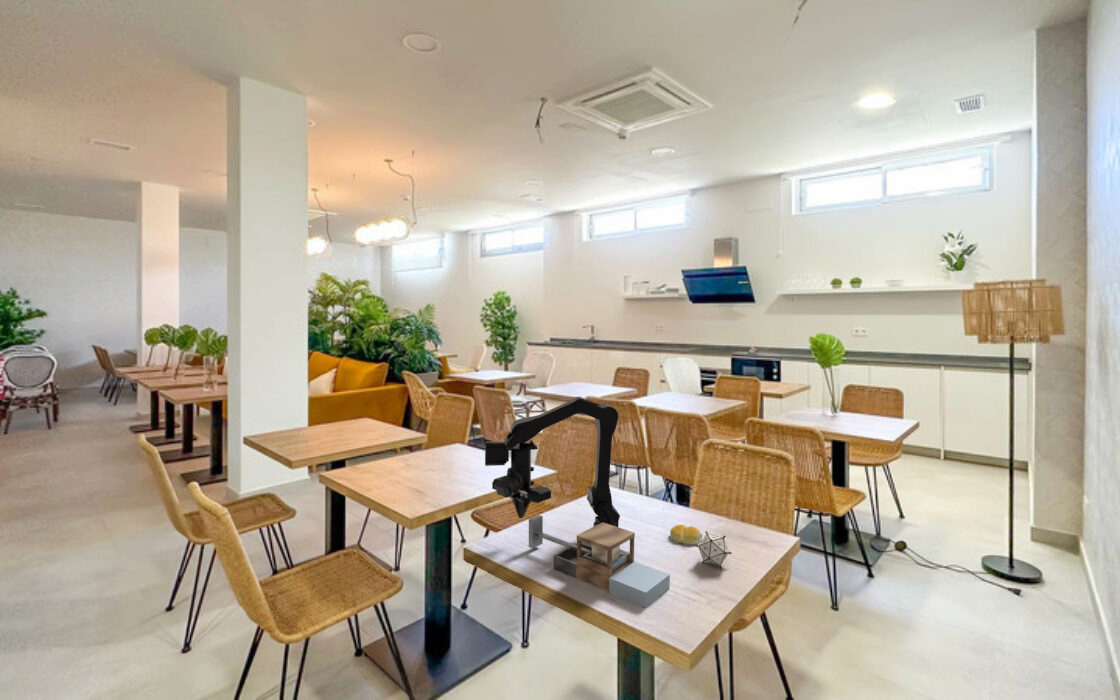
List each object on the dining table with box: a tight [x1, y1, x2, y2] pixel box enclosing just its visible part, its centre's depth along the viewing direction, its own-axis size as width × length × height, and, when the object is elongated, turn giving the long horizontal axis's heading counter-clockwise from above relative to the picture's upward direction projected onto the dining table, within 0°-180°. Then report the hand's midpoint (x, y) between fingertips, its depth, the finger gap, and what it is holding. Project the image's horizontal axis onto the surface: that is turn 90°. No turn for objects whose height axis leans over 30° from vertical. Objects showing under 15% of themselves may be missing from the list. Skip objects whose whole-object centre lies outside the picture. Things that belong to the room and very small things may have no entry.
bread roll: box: [669, 524, 703, 546], centre depth 153 cm, size 8×9×4 cm
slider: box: [528, 514, 628, 571], centre depth 136 cm, size 29×8×8 cm, turn 50°
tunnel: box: [553, 522, 636, 593], centre depth 132 cm, size 18×11×11 cm, turn 50°
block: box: [591, 545, 621, 563], centre depth 130 cm, size 5×5×5 cm
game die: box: [694, 530, 733, 569], centre depth 137 cm, size 9×8×10 cm
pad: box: [608, 561, 671, 608], centre depth 123 cm, size 10×11×4 cm
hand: (520, 517), depth 149 cm, fingers closed
